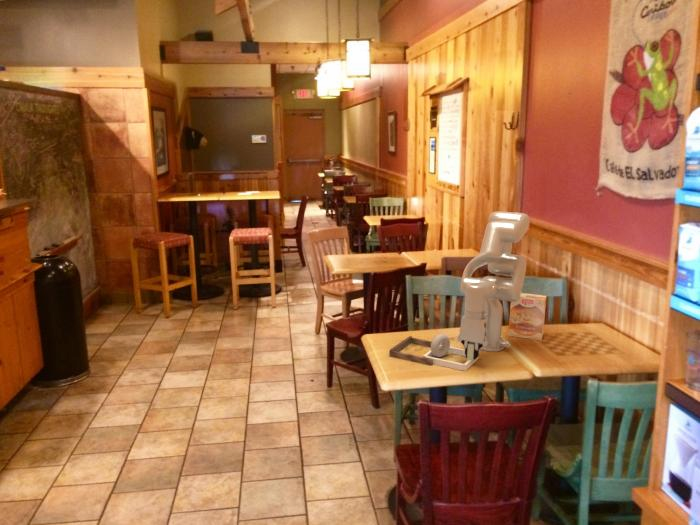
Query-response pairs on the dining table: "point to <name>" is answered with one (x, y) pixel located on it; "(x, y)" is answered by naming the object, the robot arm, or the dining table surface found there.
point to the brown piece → (395, 353)
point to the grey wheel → (436, 343)
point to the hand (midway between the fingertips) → (471, 357)
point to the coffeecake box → (527, 316)
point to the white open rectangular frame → (459, 352)
